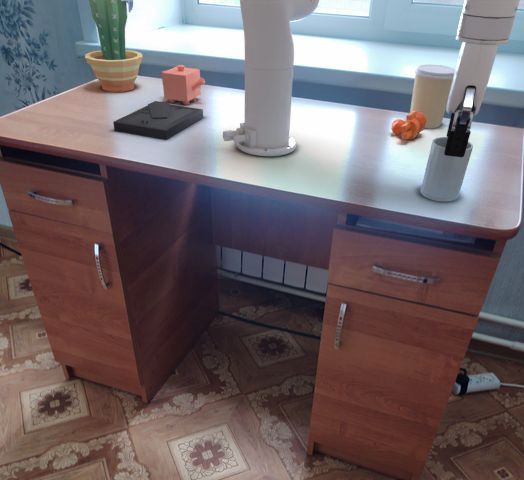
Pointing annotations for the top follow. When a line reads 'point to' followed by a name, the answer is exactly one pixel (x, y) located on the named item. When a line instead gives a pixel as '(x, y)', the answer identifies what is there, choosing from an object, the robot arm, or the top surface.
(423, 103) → the coffee cup
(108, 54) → the potted cactus
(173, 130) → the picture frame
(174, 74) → the pink cube teapot
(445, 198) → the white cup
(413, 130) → the orange lumpy piece
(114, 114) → the top surface
